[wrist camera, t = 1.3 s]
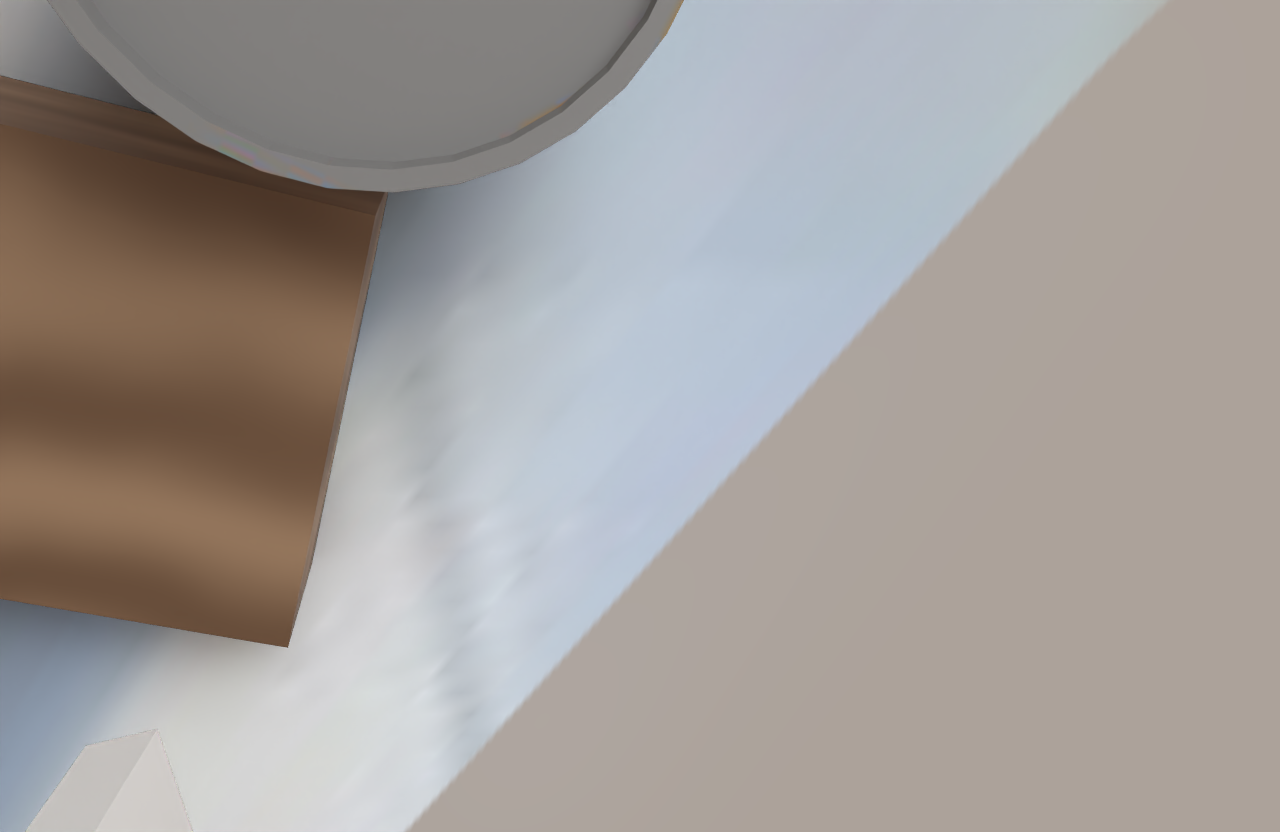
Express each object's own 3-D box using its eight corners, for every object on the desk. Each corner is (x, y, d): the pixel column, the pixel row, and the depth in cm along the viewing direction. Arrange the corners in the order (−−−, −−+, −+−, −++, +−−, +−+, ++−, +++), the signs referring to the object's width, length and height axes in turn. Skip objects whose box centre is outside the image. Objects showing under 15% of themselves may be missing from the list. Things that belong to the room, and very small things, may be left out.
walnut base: (-107, 48, 34) (-203, 73, 29) (391, 174, 36) (375, 215, 32) (-127, 482, 39) (-212, 562, 34) (311, 563, 41) (287, 647, 37)
